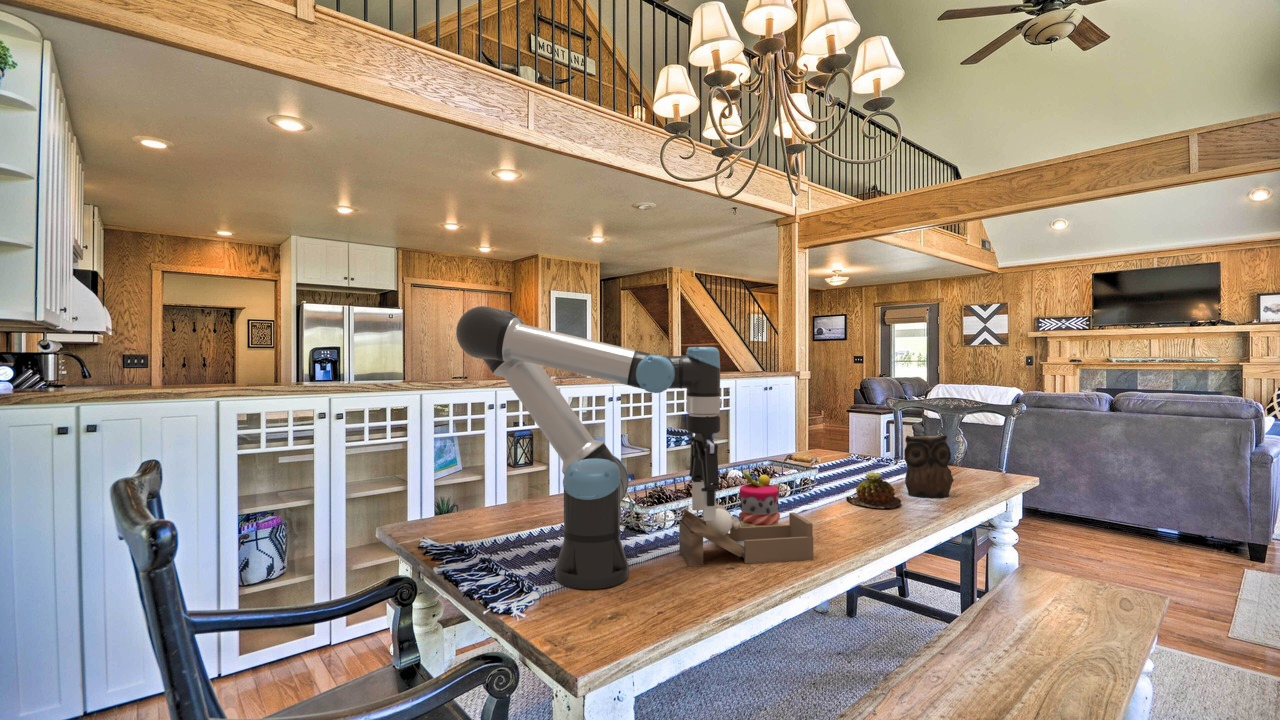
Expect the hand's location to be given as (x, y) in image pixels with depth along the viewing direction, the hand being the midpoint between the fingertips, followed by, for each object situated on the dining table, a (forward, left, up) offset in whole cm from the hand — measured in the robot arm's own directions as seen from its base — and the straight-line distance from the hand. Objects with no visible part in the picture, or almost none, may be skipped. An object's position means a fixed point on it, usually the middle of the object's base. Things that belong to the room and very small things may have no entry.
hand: (703, 514), depth 136 cm
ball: (+1, 0, -3) cm, 3 cm away
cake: (+21, +20, -10) cm, 31 cm away
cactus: (+67, +41, -10) cm, 79 cm away
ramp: (+2, 0, -10) cm, 10 cm away
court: (+16, 0, -10) cm, 19 cm away
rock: (+9, +14, -11) cm, 20 cm away
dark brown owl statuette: (+90, +47, -10) cm, 102 cm away
